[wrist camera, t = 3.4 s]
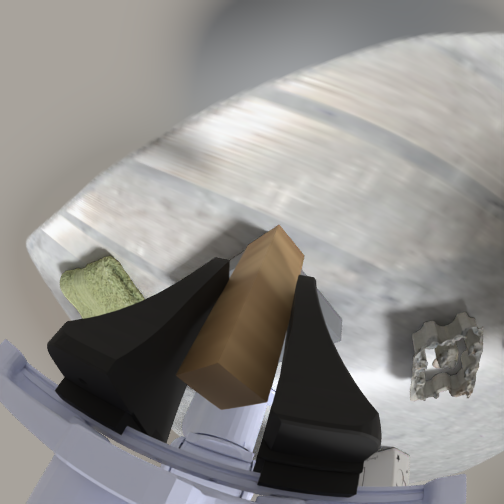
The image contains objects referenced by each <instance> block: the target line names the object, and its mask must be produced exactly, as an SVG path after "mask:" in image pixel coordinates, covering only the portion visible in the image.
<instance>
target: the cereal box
mask: <svg viewBox="0 0 504 504" xmlns="http://www.w3.org/2000/svg"><path fill="white" fill-rule="evenodd" d="M409 471H410V456H409V455H407V454H405V453H404V452H402V451H400V450H398V449H396V448H391V449H388V450H384V451H380V452H376V453H374V454H373V455H372V456H370V457H369V458H368V459H366V460H365V461H364V466H363V471H362V473H361V474H359V481H358V486H367V487H392V486H409Z"/></svg>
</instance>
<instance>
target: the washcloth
mask: <svg viewBox="0 0 504 504" xmlns="http://www.w3.org/2000/svg"><path fill="white" fill-rule="evenodd" d="M60 288H61V291H62V293H63V294H64V296H65V297H66V298H67V299H68V300H69V301H70V303H71V304H72V305H73V306H74V307H75V308H76V309H77V310H78V312H79V313H80V315H81V316H82V318H83V319H84V318H90V317H94V316H98V315H102V314H106V313H110V312H113V311H116V310H119V309H122V308H125V307H127V306H130V305H133V304H135V303H138V302H140V301H143V300H145V299H144V297H143V296H142V294H141V293H140V292H139V290H138V289H137V288H136V287H135V285H134V284H133V282H132V281H131V280H130V277H129V275H128V274H127V273H126V272H125V271H124V269H123V267H122V265H121V264H120V262H118V261H117V260H115V259H114V258H113V257H111V256H108V257H104V258H103V259H100V260H98V261H95V262H94V263H90V264H87V266H86V267H85V268H82V269H80V268H78V269H77V268H76V269H75V270H67V271H65V272H64V273H63V274H62V276H61V279H60Z"/></svg>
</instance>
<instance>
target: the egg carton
mask: <svg viewBox="0 0 504 504" xmlns="http://www.w3.org/2000/svg"><path fill="white" fill-rule="evenodd" d="M461 338H464V341H465V344H466V348H467V349H466V350H465V351H464V352H463V353H462V354H461V362H462V366H463V368H461V369H460V370H459V371H458V373H457V374H455V375H451V376H449V374H448V373H446V372H443V373H439V374H437V375H435V376H434V377H432V379H431V380H430V381H425V374H424V372H425V369H427V365H428V362H427V360H426V354H425V349H434V348H435V353H436V359H435V360H434V362H433V366H434V367H435V368H447V367H449V368H451V369H453V368H455V367H456V365H457V363H458V354H459V351H458V348H457V344H456V341H459V340H460V339H461ZM412 340H413V346H414V352H415V355H413V367H412V374H413V376H412V378H411V386H410V400H411V401H416V400H423V401H425V400H426V398H429V397H434V398H436V399H437V398H438V397H439V393H440V392H444V391H447V390H449V393H450V394H451V396H453V397H458V396H461V395H467V398H469V397H470V396H471V393H472V392H473V388H474V386H475V381H476V372H477V370H478V368H479V361H480V358H481V354H482V352H483V327H482V328H480V329H479V328H478V327H477V325H476V321H475V318H470V317H468V316H467V313H466V312H462V313H459V314H457V315H456V318H455V319H454V321H453V322H452V323H450V324H449V325H447V326H439V325H437V324H436V323H435V321H429V322H425V323H424V325H423V327H422V328H421V329H420V330H419V331H418V332H415V333H413V334H412Z"/></svg>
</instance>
